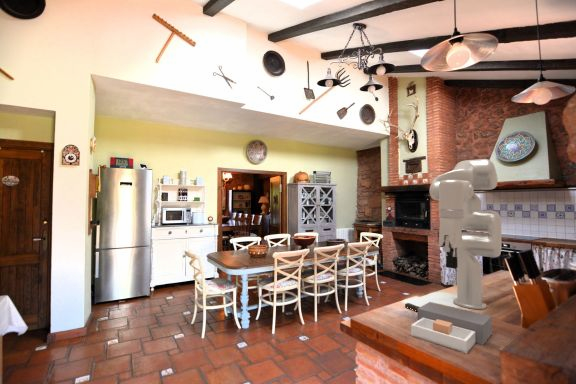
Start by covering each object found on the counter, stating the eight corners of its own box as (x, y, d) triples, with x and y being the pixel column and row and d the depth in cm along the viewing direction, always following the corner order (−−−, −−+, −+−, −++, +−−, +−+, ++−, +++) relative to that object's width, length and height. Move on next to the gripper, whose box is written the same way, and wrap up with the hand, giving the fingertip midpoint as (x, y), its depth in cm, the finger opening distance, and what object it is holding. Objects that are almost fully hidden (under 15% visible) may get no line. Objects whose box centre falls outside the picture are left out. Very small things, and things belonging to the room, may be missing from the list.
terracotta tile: (437, 326, 97) (437, 319, 97) (452, 330, 94) (452, 322, 94) (432, 330, 94) (432, 322, 94) (448, 335, 91) (448, 326, 91)
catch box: (422, 327, 104) (423, 317, 104) (475, 343, 93) (475, 331, 93) (411, 335, 97) (411, 324, 97) (466, 353, 85) (466, 341, 86)
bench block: (429, 317, 114) (429, 301, 114) (491, 334, 100) (491, 316, 100) (417, 325, 105) (417, 308, 106) (483, 345, 91) (483, 325, 92)
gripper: (446, 214, 111) (447, 262, 111) (432, 215, 101) (432, 269, 100) (469, 214, 106) (469, 266, 106) (456, 216, 96) (457, 273, 95)
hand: (451, 267), depth 103 cm, fingers closed
